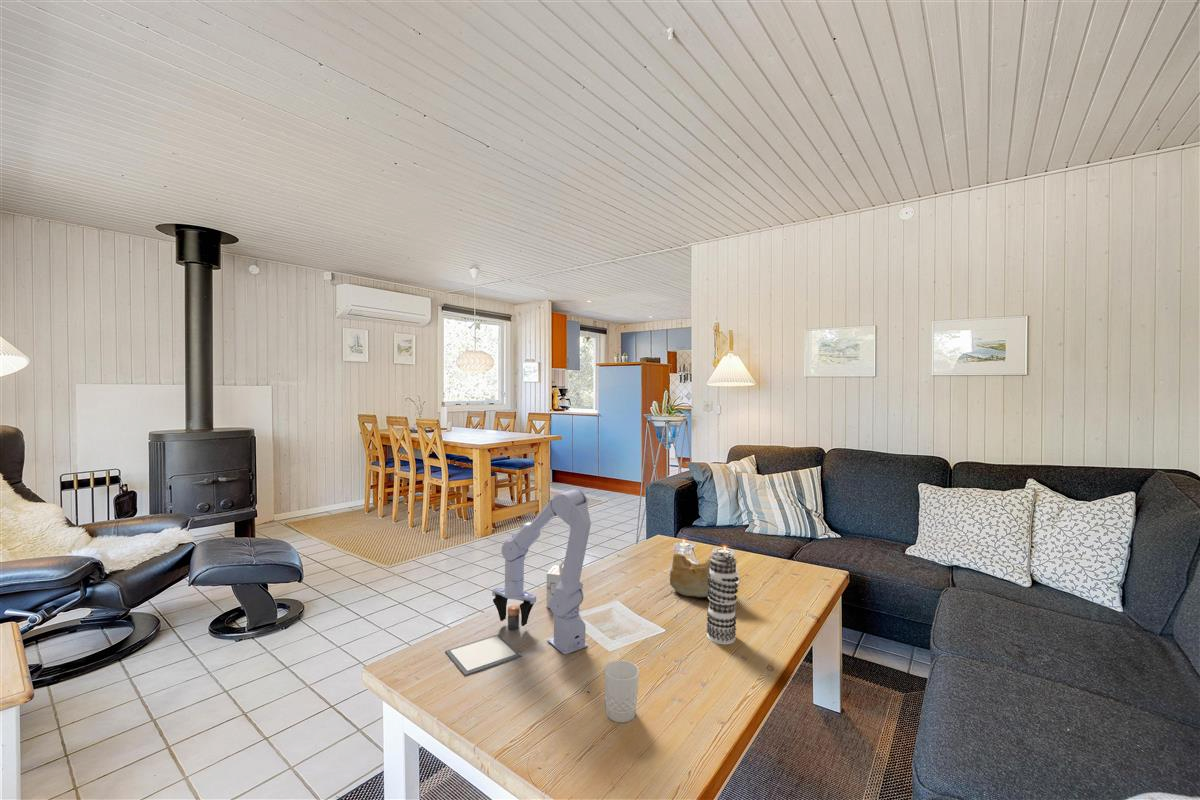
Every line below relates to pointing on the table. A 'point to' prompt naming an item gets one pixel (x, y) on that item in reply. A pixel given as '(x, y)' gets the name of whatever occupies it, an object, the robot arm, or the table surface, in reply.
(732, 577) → the decorative candle
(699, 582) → the rough brown rock
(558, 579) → the ink cartridge box
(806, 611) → the table surface
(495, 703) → the table surface
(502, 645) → the writing pad
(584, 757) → the table surface
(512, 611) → the orange-topped grey cylinder
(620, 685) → the white cup
